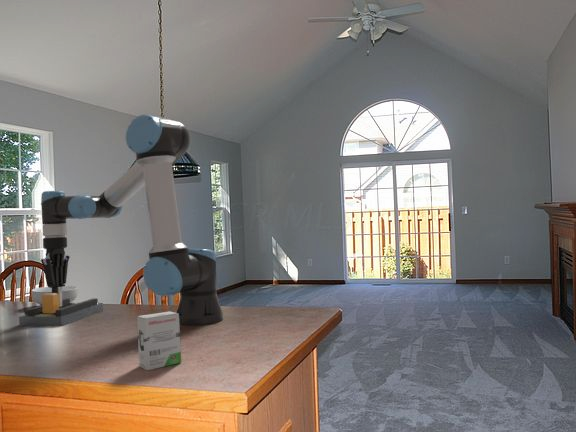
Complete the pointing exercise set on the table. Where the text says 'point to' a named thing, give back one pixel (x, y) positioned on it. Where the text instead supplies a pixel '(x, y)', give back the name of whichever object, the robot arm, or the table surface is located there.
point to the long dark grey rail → (76, 307)
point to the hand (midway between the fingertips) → (57, 306)
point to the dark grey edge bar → (40, 308)
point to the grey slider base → (54, 320)
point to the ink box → (159, 340)
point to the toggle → (50, 302)
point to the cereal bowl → (37, 293)
